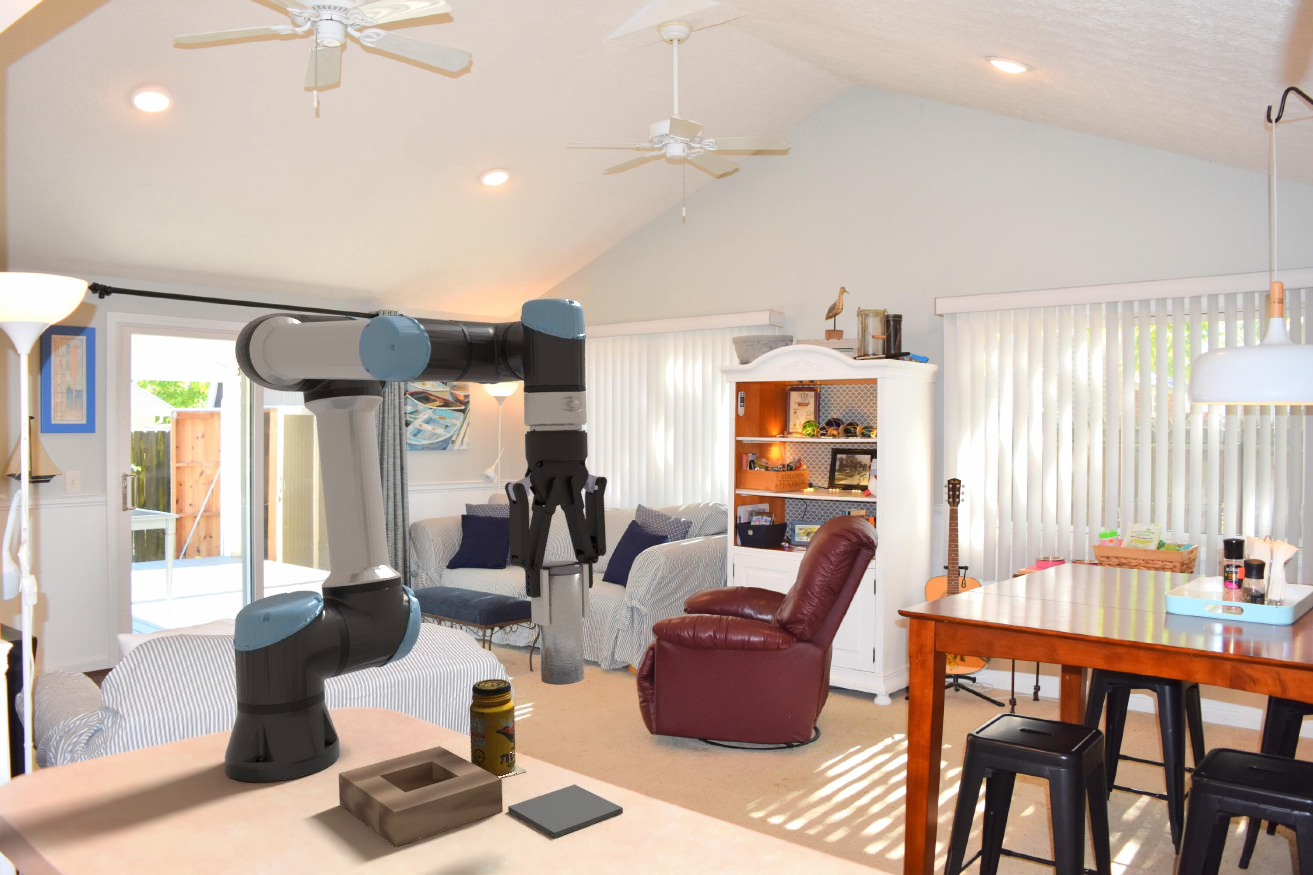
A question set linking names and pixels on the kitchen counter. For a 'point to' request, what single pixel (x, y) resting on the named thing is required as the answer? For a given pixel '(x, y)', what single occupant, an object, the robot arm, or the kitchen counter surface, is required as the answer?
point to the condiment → (493, 728)
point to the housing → (419, 794)
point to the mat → (565, 810)
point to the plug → (563, 625)
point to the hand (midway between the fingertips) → (560, 619)
